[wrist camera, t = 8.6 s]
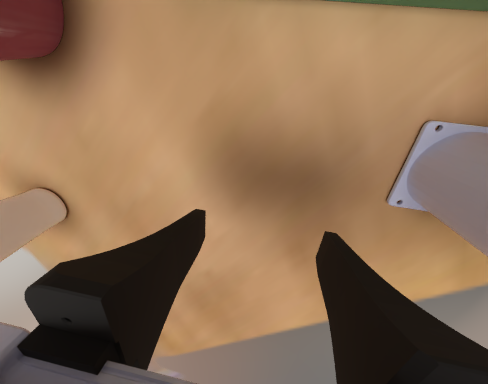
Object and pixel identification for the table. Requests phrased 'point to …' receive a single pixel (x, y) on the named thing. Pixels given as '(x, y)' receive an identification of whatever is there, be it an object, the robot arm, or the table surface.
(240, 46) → the table surface
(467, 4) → the green board
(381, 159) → the table surface
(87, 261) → the robot arm
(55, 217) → the drinking glass
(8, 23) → the plant pot
